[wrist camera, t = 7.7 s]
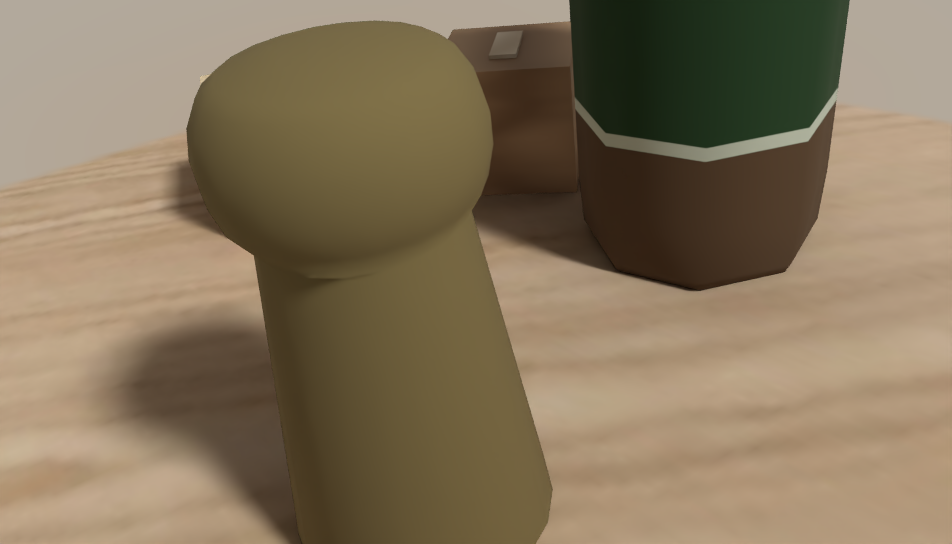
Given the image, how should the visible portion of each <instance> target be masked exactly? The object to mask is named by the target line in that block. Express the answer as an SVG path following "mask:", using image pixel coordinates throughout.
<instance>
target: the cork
mask: <svg viewBox="0 0 952 544" xmlns="http://www.w3.org/2000/svg"><path fill="white" fill-rule="evenodd" d="M187 143H188V157H189V163H190V165H191V168H192V171H193V173H194V176H195V179H196V182H197V184H198V187H199V190H200V192H201V195H202V197H203V200H204V202H205V205H206V207H207V210H208V211H209V213H210V214H211V216H212V217H213V218H214V220H215V221H216V223H217V224H218V226H219V227H220V229H221V230H222V231H223V233H224V234H225V236H226V237H227V238H228V239H230V240H231V241H233V242H234V243H236V244H237V245H239V246H240V247H242V248H243V249H245V250H246V251H248V252H249V253H251V254H253V255H254V259H255V265H256V271H257V278H258V284H259V290H260V296H261V302H262V309H263V315H264V321H265V327H266V333H267V340H268V346H269V352H270V358H271V365H272V371H273V377H274V383H275V389H276V396H277V402H278V408H279V414H280V420H281V427H282V433H283V439H284V445H285V451H286V458H287V464H288V470H289V476H290V482H291V489H292V495H293V501H294V507H295V514H296V520H297V526H298V532H299V536H300V539H301V542H302V544H536V542H537V540H538V539H539V537H540V535H541V533H542V532H543V530H544V528H545V526H546V524H547V523H548V517H549V510H550V503H551V497H552V490H553V489H552V485H551V482H550V478H549V474H548V470H547V466H546V462H545V459H544V455H543V452H542V448H541V445H540V442H539V438H538V435H537V431H536V428H535V425H534V421H533V418H532V414H531V411H530V408H529V404H528V401H527V397H526V394H525V390H524V387H523V384H522V380H521V377H520V373H519V370H518V367H517V363H516V360H515V356H514V353H513V350H512V346H511V343H510V339H509V336H508V333H507V329H506V326H505V322H504V319H503V315H502V312H501V309H500V305H499V302H498V298H497V295H496V292H495V288H494V285H493V281H492V278H491V275H490V271H489V268H488V264H487V261H486V257H485V254H484V251H483V247H482V244H481V240H480V237H479V234H478V230H477V227H476V223H475V220H474V217H473V213H472V209H473V208H474V206H475V204H476V203H477V201H478V199H479V198H480V196H481V194H482V191H483V188H484V186H485V183H486V180H487V178H488V175H489V169H490V162H491V156H492V149H493V135H492V125H491V115H490V110H489V107H488V104H487V101H486V99H485V96H484V93H483V90H482V88H481V85H480V83H479V80H478V77H477V75H476V72H475V70H474V67H473V66H472V64H471V63H470V62H469V61H468V59H467V58H466V57H465V56H464V55H463V53H462V52H461V51H460V50H459V48H458V47H457V46H456V45H455V44H454V43H453V42H451V41H450V40H448V39H446V38H445V37H443V36H442V35H440V34H438V33H435V32H433V31H431V30H428V29H425V28H423V27H419V26H416V25H411V24H407V23H402V22H389V21H362V22H346V23H337V24H331V25H324V26H318V27H312V28H308V29H305V30H301V31H296V32H292V33H289V34H285V35H281V36H278V37H275V38H273V39H270V40H267V41H264V42H261V43H259V44H256V45H253V46H251V47H249V48H247V49H245V50H243V51H241V52H240V53H238V54H236V55H234V56H232V57H230V58H229V59H228V60H227V61H225V63H223V64H222V65H221V66H219V67H218V68H217V69H216V70H215V71H214V72H213V73H212V74H211V75H210V76H209V77H208V78H206V79H205V80H204V81H203V82H202V83H201V85H200V88H199V90H198V92H197V95H196V97H195V99H194V103H193V106H192V110H191V114H190V118H189V121H188V125H187Z"/></svg>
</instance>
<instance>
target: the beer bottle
mask: <svg viewBox="0 0 952 544" xmlns="http://www.w3.org/2000/svg"><path fill="white" fill-rule="evenodd" d="M849 1H850V0H569V2H570V21H571V39H572V58H573V76H574V95H575V113H576V132H577V150H578V169H579V180H580V188H581V197H582V205H583V213H584V220H585V221H586V223H587V224H588V226H589V228H590V229H591V231H592V232H593V234H594V235H595V237H596V239H597V240H598V242H599V243H600V245H601V246H602V248H603V249H604V251H605V252H606V254H607V255H608V257H609V259H610V260H611V262H612V263H613V265H614V266H615V268H616V269H617V270H619V271H623V272H627V273H631V274H635V275H639V276H643V277H647V278H651V279H655V280H659V281H663V282H668V283H672V284H676V285H680V286H684V287H688V288H692V289H696V290H704V289H709V288H713V287H718V286H722V285H727V284H731V283H736V282H740V281H745V280H750V279H754V278H759V277H763V276H768V275H772V274H777V273H781V272H785V271H786V269H787V268H788V267H789V265H790V264H791V263H792V261H793V259H794V258H795V256H796V254H797V252H798V251H799V249H800V247H801V246H802V244H803V242H804V240H805V239H806V237H807V235H808V233H809V232H810V230H811V228H812V227H813V225H814V223H815V221H816V220H817V218H818V213H819V208H820V203H821V198H822V193H823V188H824V183H825V178H826V173H827V167H828V160H829V152H830V145H831V137H832V130H833V122H834V114H835V107H836V99H837V92H838V84H839V77H840V69H841V62H842V54H843V46H844V39H845V31H846V24H847V16H848V9H849Z"/></svg>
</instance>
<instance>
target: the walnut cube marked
mask: <svg viewBox="0 0 952 544" xmlns="http://www.w3.org/2000/svg"><path fill="white" fill-rule="evenodd" d="M448 40H450V41H451V42H453V43H454V44H455V45H456V46H457V47H458V48H459V50H460V51H461V52H462V53H463V55H464V56H465V57H466V58H467V59H468V61H469V62H470V63H471V64H472V66H473V67H474V70H475V72H476V75H477V77H478V80H479V83H480V85H481V88H482V90H483V93H484V96H485V99H486V101H487V104H488V107H489V110H490V115H491V125H492V135H493V149H492V156H491V162H490V169H489V175H488V178H487V180H486V183H485V186H484V188H483V191H482V194H481V195H500V194H531V193H561V192H577V188H578V177H579V169H578V150H577V132H576V113H575V95H574V76H573V58H572V39H571V21H570V22H555V23H543V24H542V23H541V24H527V25H515V26H514V25H513V26H499V27H485V28H471V29H458V30H453V31H452V32H451V35H450V36H449V38H448Z"/></svg>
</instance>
